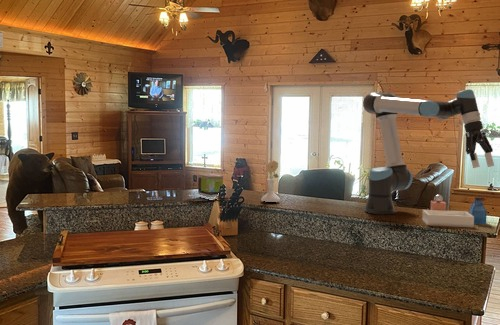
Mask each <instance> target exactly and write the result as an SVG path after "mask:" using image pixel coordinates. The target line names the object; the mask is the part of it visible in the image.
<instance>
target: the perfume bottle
mask: <svg viewBox="0 0 500 325" xmlns="http://www.w3.org/2000/svg"><path fill="white" fill-rule="evenodd" d="M473 202H474V203H471V205H470V206H469V208H468V213H470V214H471V215H472V216H474V224H475V223H479V225H480V224H481V225H486V224H487V209H486V207H485V205H484V204H483V197H481V196H479V197H478V196H474V201H473Z"/></svg>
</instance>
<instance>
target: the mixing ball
mask: <svg viewBox="0 0 500 325" xmlns="http://www.w3.org/2000/svg"><path fill="white" fill-rule="evenodd" d="M443 200H444V198H443V196H442V195H441V194H436V195H435V196H434V197H433V201H435V202H437V203H440V202H442V201H443Z"/></svg>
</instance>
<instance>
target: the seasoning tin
mask: <svg viewBox="0 0 500 325" xmlns="http://www.w3.org/2000/svg"><path fill="white" fill-rule="evenodd" d="M429 210H443V211H447V203H446V202H445V201H443V200H442V202H440V203H437V202H435V200H430V208H429Z"/></svg>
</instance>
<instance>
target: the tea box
mask: <svg viewBox="0 0 500 325" xmlns="http://www.w3.org/2000/svg"><path fill="white" fill-rule="evenodd" d="M197 178H198V179H197V180H198V182H197V184H198V186H197V187H198V188H197V192H198V193H197V194H200V195H203V196H206V197H215V196H217V195H218V193H219V187H220V186H222V185H223V186H224V176H223V175H221V174H213V173H200V174H198V177H197Z"/></svg>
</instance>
